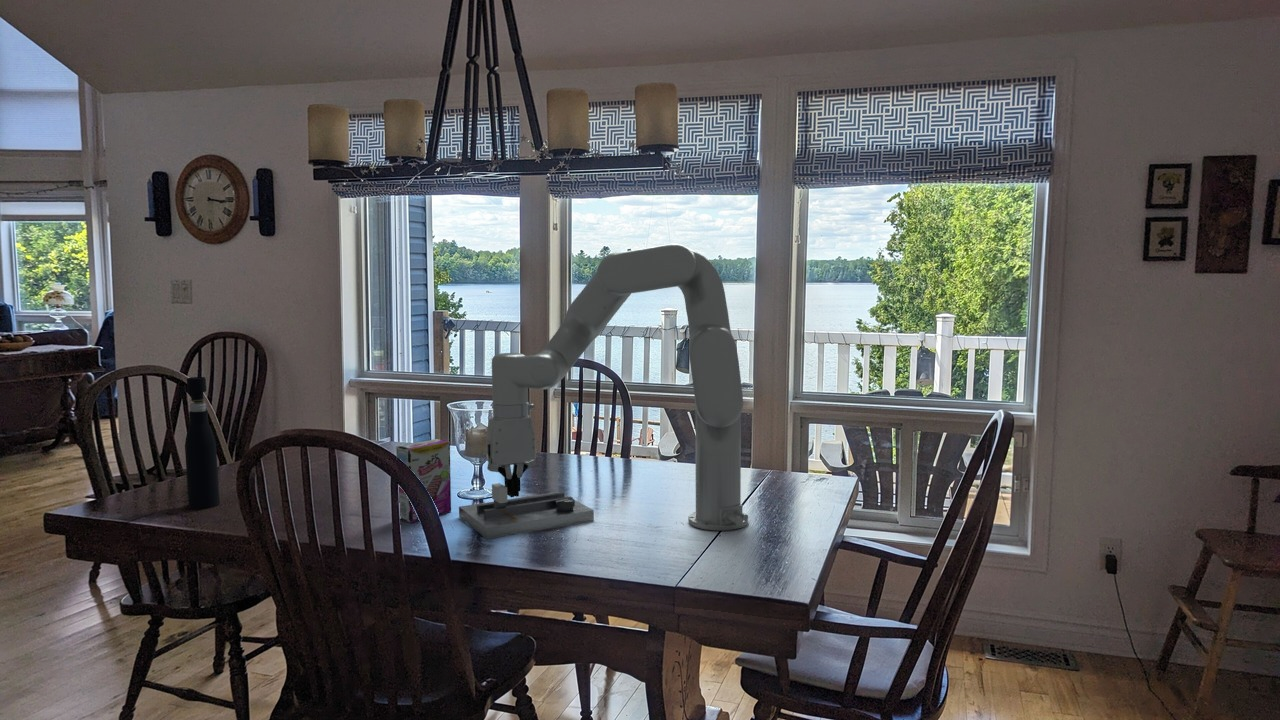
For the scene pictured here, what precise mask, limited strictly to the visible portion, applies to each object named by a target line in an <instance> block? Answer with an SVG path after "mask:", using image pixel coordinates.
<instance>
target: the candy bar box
mask: <svg viewBox="0 0 1280 720" xmlns="http://www.w3.org/2000/svg"><path fill="white" fill-rule="evenodd" d="M397 457H398V458H399V459H401V460H402V461H403V462H404V463H405V464H406V465H407V466H408V467H409V468H410V469H411V470H412V471H413V472H414V473H415V475H416V476H417V477H418V478H419V479H420V481H421V482H422V483H423V485H424V486H425V488H426V489H427V491H428V492H429V494H430V496H431V497H432V499H433V501H434V503H435V505H436V507H437V509H438V512H439V515H438V516H441V515H445V514H448V513H451V512H452V490H451V489H452V487H451V485H452V484H451V441H448V440H445V439H439V438H436V439H435V438H434V439H429V440H424V441H418V442H412V443H411V442H410V443H407V444H400V445H396V458H397ZM399 503H400V516H401V520H400V521H403V522H407V523H410V524H411V523H414V522H419V521H420V520H418V517H417V515H416V513H415V511H414V509H413V507H412V505H411V503H410V501H409V499H408V498H407V496H406V494H405V493H404V491H403V490H402V489H401V488H400V487H399Z"/></svg>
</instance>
